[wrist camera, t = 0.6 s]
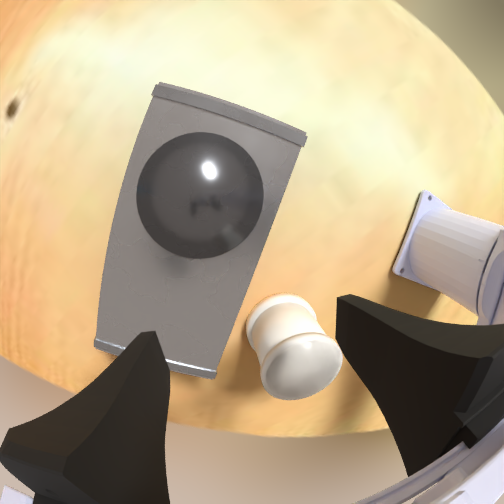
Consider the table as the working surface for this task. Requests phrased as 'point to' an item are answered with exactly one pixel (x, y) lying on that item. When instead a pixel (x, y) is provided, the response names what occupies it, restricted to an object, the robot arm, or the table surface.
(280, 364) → the white cabinet knob
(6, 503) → the robot arm
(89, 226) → the table surface
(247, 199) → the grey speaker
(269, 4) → the table surface
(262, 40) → the table surface
